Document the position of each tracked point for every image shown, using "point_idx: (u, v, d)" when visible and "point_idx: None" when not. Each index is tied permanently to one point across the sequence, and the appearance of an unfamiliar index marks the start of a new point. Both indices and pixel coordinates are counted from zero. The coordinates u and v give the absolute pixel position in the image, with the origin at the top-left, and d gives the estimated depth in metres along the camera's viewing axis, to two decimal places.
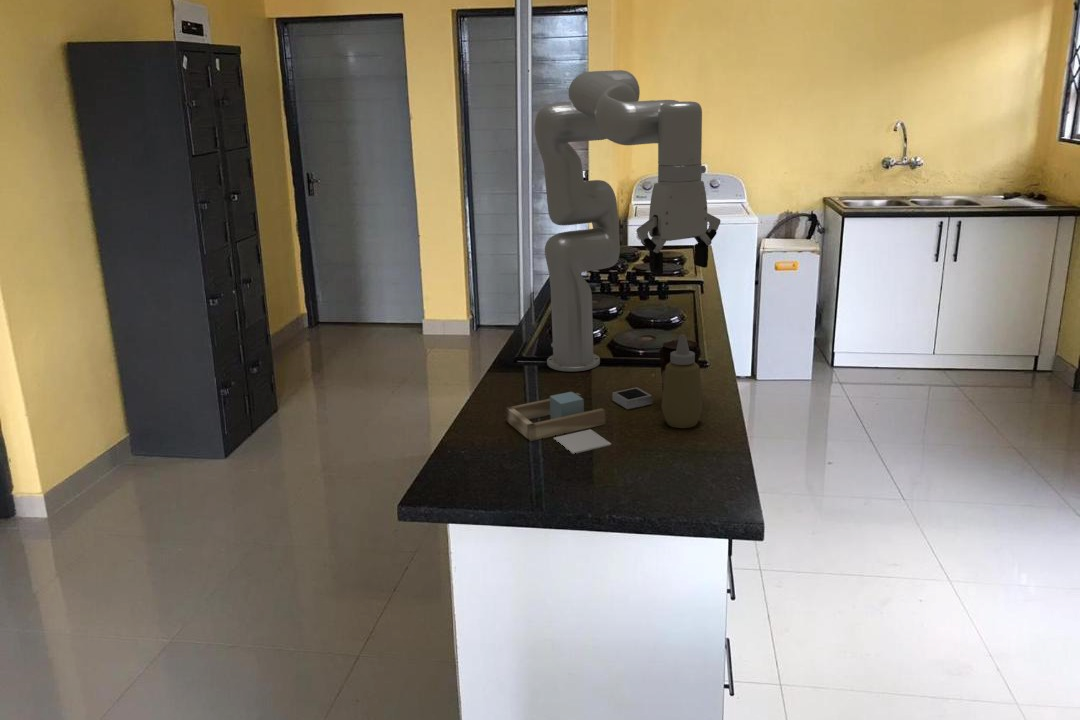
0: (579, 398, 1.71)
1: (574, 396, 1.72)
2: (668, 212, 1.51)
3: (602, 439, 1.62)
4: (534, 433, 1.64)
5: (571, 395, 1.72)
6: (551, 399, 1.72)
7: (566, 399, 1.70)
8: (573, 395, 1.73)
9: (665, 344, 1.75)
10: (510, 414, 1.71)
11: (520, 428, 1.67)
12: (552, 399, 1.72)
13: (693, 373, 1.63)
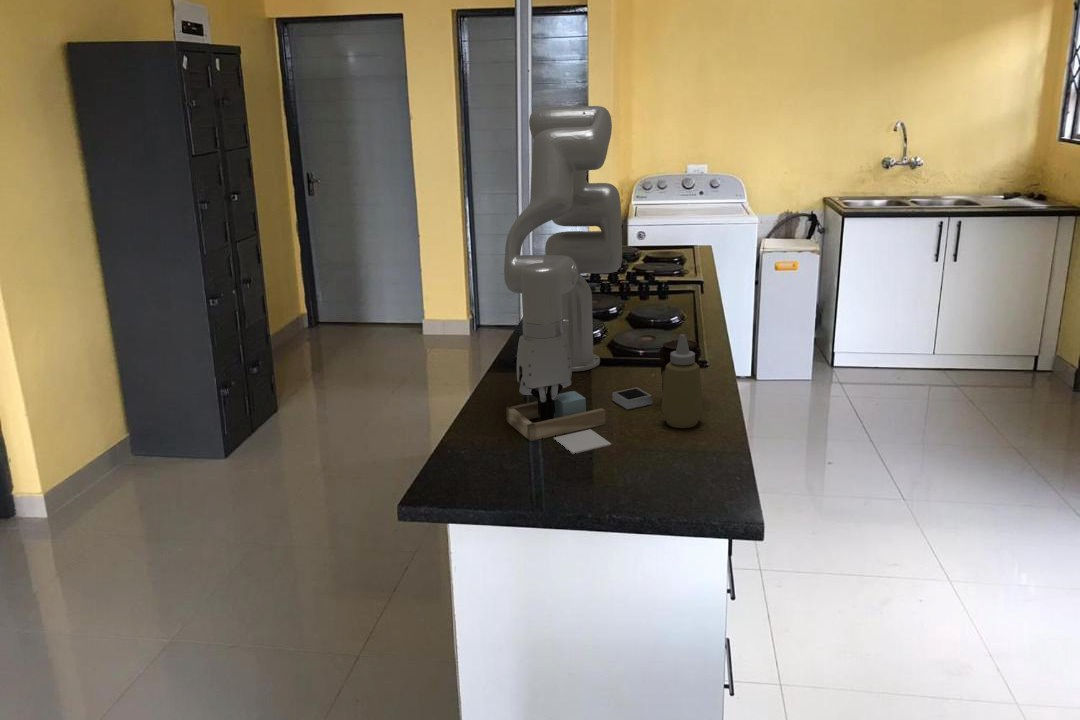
0: (581, 397, 1.71)
1: (576, 395, 1.72)
2: (531, 364, 1.64)
3: (602, 439, 1.62)
4: (534, 433, 1.64)
5: (574, 394, 1.72)
6: None
7: (568, 398, 1.70)
8: (575, 394, 1.73)
9: (665, 344, 1.75)
10: (510, 414, 1.71)
11: (520, 428, 1.67)
12: None
13: (693, 373, 1.63)
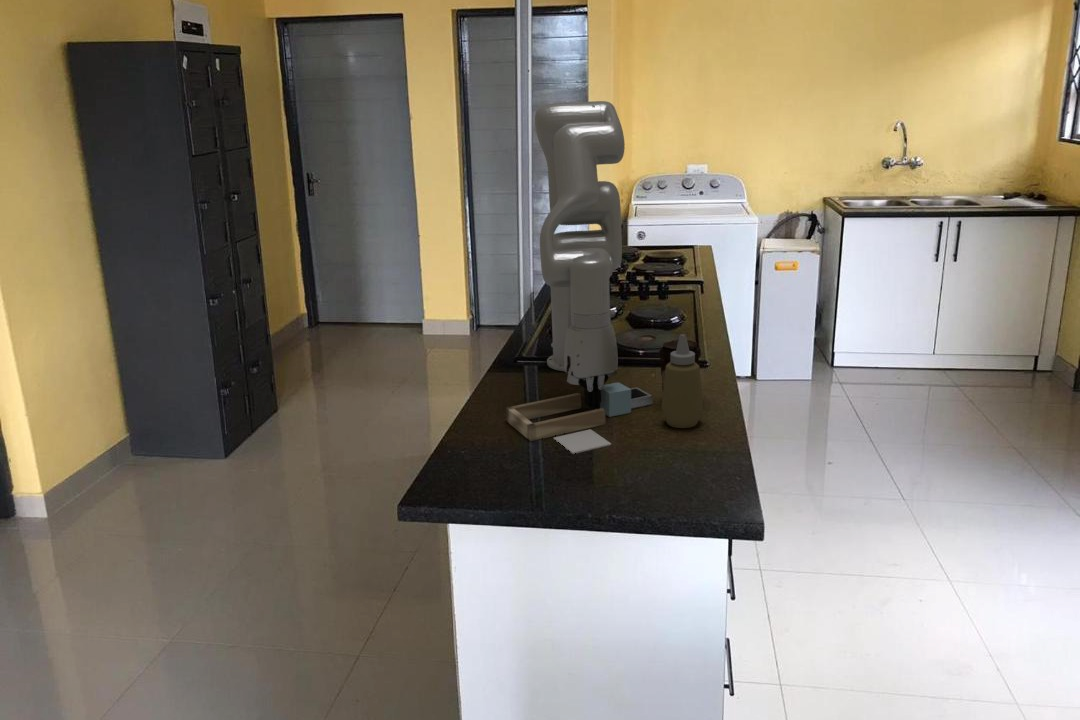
0: (627, 388, 1.74)
1: (621, 386, 1.76)
2: (579, 355, 1.67)
3: (602, 439, 1.62)
4: (534, 433, 1.64)
5: (619, 385, 1.76)
6: None
7: (614, 389, 1.74)
8: (621, 385, 1.76)
9: (665, 344, 1.75)
10: (510, 414, 1.71)
11: (520, 428, 1.67)
12: None
13: (693, 373, 1.63)
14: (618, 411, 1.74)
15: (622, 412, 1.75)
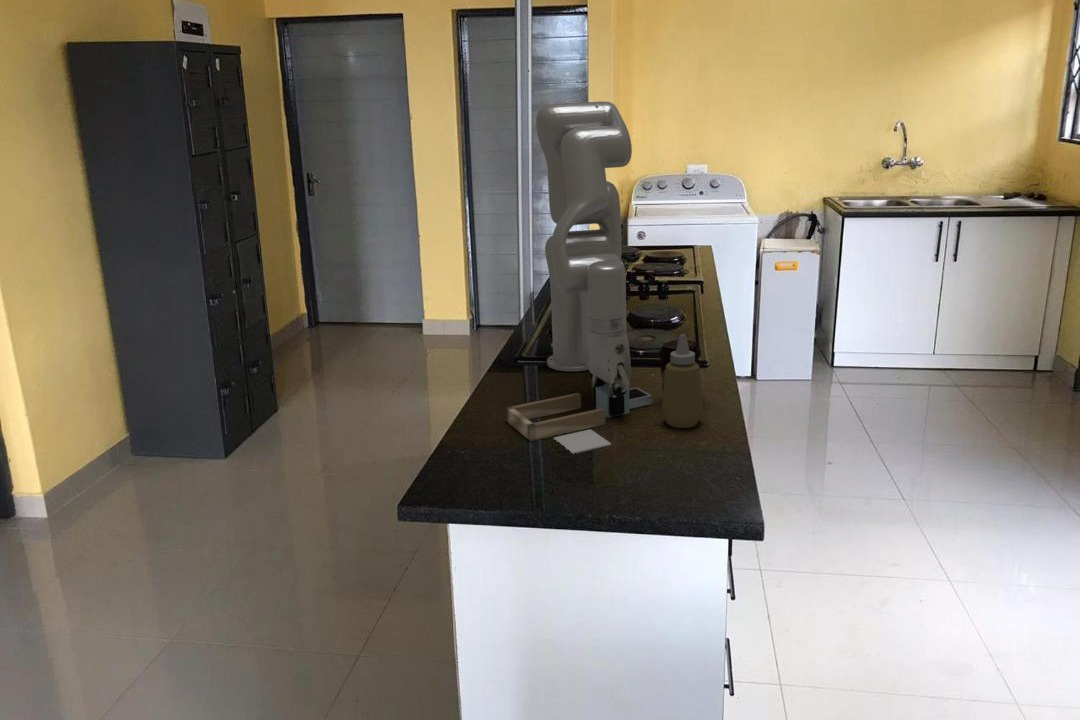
0: None
1: None
2: (589, 350, 1.75)
3: (602, 439, 1.62)
4: (534, 433, 1.64)
5: (617, 386, 1.76)
6: (597, 390, 1.76)
7: None
8: None
9: (665, 344, 1.75)
10: (510, 414, 1.71)
11: (520, 428, 1.67)
12: (598, 390, 1.75)
13: (693, 373, 1.63)
14: None
15: None
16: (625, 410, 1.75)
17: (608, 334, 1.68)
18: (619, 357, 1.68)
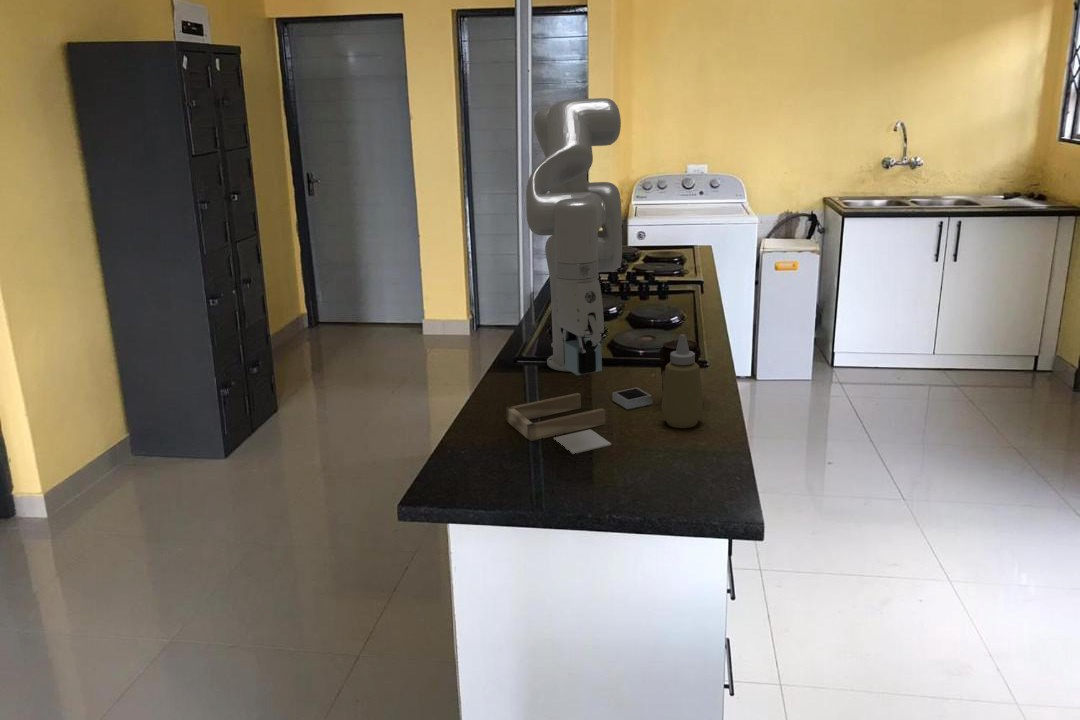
0: None
1: None
2: (557, 300, 1.57)
3: (602, 439, 1.62)
4: (534, 433, 1.64)
5: None
6: (566, 345, 1.57)
7: None
8: None
9: (665, 344, 1.75)
10: (510, 414, 1.71)
11: (520, 428, 1.67)
12: (567, 345, 1.57)
13: (693, 373, 1.63)
14: None
15: None
16: (597, 367, 1.56)
17: (577, 280, 1.49)
18: (590, 306, 1.50)
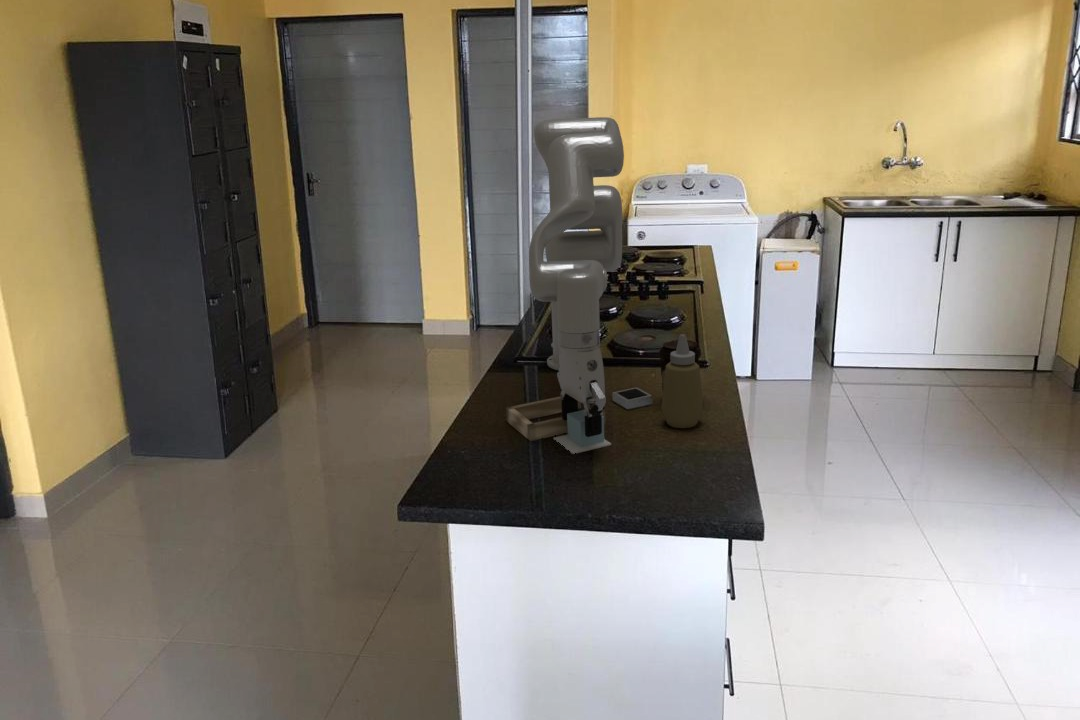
0: None
1: None
2: (560, 366, 1.60)
3: None
4: (534, 433, 1.64)
5: None
6: (569, 417, 1.62)
7: None
8: None
9: (665, 344, 1.75)
10: (510, 414, 1.71)
11: (520, 428, 1.67)
12: (570, 417, 1.61)
13: (693, 373, 1.63)
14: (590, 441, 1.60)
15: (595, 441, 1.61)
16: (600, 438, 1.61)
17: (579, 349, 1.53)
18: (592, 374, 1.53)
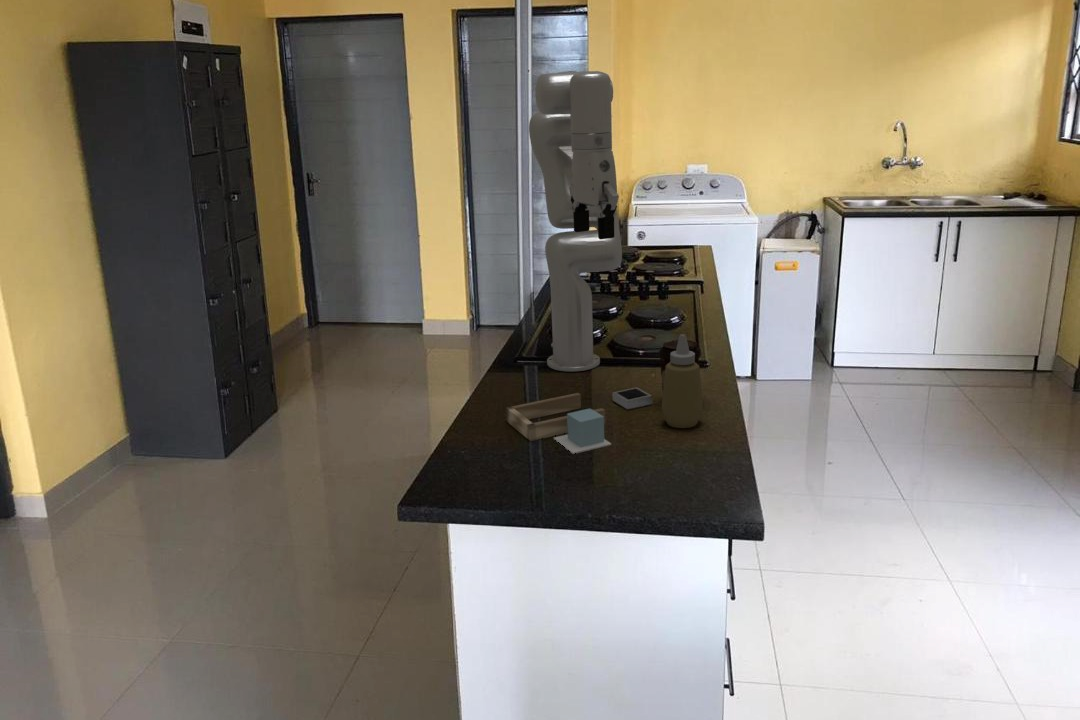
0: (599, 416, 1.60)
1: (593, 413, 1.62)
2: (572, 175, 1.64)
3: None
4: (534, 433, 1.64)
5: (590, 412, 1.62)
6: (569, 417, 1.62)
7: (585, 417, 1.60)
8: (592, 412, 1.62)
9: (665, 344, 1.75)
10: (510, 414, 1.71)
11: (520, 428, 1.67)
12: (570, 417, 1.61)
13: (693, 373, 1.63)
14: (590, 441, 1.60)
15: (595, 441, 1.61)
16: (600, 438, 1.61)
17: (592, 149, 1.57)
18: (604, 175, 1.58)
